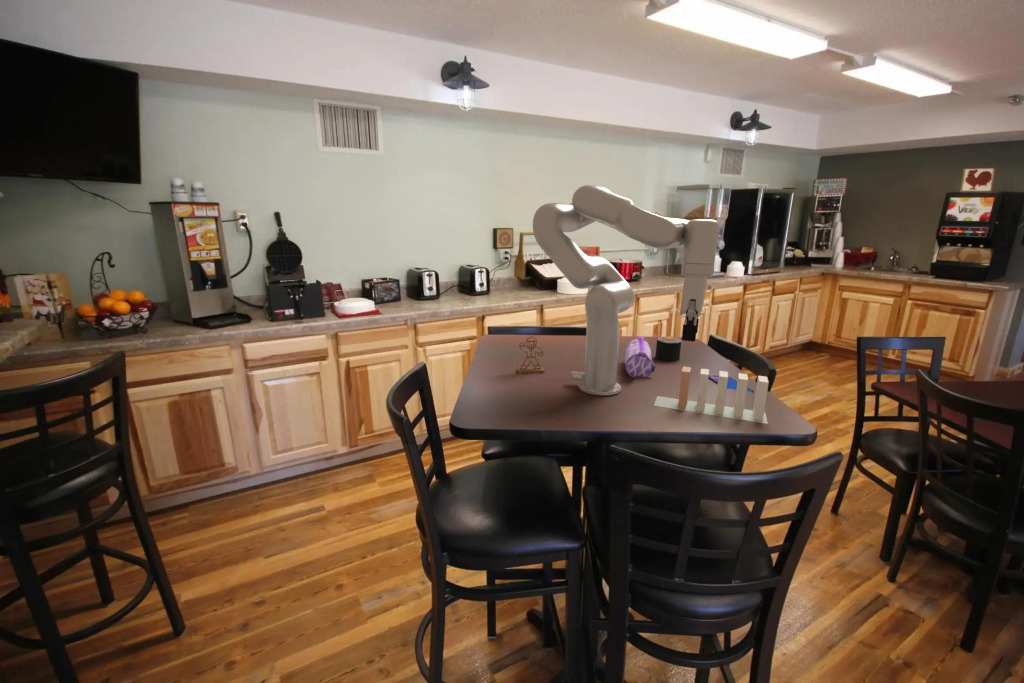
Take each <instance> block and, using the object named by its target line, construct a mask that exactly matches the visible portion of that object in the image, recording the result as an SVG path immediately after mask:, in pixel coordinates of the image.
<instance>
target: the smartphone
mask: <svg viewBox="0 0 1024 683" xmlns="http://www.w3.org/2000/svg"><path fill="white" fill-rule="evenodd" d="M718 379H719V375H709V377H708V380H710V381H711V380H712V382H713V383H715V384H717V385H718ZM737 381H738V380H736V379H735V378H733V377H731V376H729V375H728V382H727V389H726V390H728V389H729V390H734V391H736V388H737ZM746 392H750V393H751V392H752V393H754V390H753V389H751V388H749V387H748V386H747V391H746Z"/></svg>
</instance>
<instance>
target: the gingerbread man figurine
mask: <svg viewBox="0 0 1024 683" xmlns="http://www.w3.org/2000/svg"><path fill="white" fill-rule="evenodd" d="M531 338H533V339H535V340H533V339H532V340H531ZM530 343H532V344H530ZM521 344H522V345H521ZM537 344H538V341H537V338H536V337H535V336H529V337H527V338H526V339H525V342H524V341H521V342H520V343H519V346H518V347H519V349H520V350H521V351H522V352H523V353H526V358H525V360H524V361H523V363H522V364H521V365H520V366H519V367H516V371H517V370H518V371H517V373H518V372H545V373H546V371H545V368H544V367H543V366H541V365H540V363H539V361H538V360H537V356H538V357H540V358H542V357H543V356H544V351H543V349H542V348H541V347H540V346H537ZM522 347H525V348H526V349H527V348H528V350H529V352H530V354H529V355H528V351H527V350H526V351H525V350H523V349H522ZM535 348H538V349H539V350H541V351H539V352H538V351H536V350H535ZM534 350H535V351H534ZM533 351H534V356H533ZM536 354H537V355H536ZM540 354H541V355H540ZM528 359H530V361H529V362H528V363H527V365H526V364H525V362H527V360H528ZM532 359H535V361H536V362H537V364H534V363H533V361H532ZM530 364H532V366H530Z"/></svg>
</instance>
